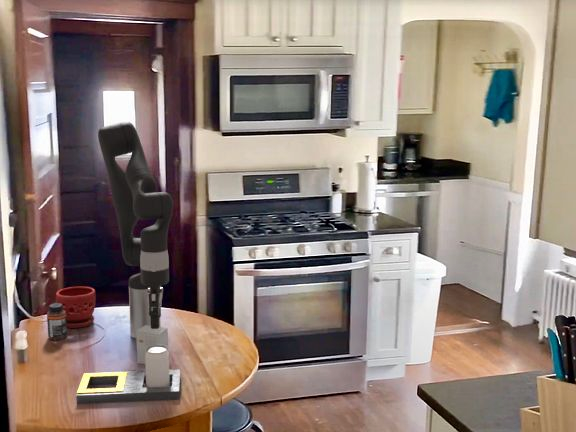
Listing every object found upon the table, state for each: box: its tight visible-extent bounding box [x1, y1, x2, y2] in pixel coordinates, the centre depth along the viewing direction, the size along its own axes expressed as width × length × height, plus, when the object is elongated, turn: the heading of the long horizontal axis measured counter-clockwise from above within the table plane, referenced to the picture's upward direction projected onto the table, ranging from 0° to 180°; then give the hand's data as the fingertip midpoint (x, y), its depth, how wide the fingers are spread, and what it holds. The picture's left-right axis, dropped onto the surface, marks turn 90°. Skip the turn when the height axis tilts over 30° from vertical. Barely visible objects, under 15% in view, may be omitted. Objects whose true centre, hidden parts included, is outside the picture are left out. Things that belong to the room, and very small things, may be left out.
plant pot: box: [55, 286, 96, 329], centre depth 245 cm, size 13×13×12 cm
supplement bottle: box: [46, 302, 68, 341], centre depth 232 cm, size 6×6×11 cm
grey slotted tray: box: [75, 369, 181, 405], centre depth 196 cm, size 27×14×3 cm, turn 97°
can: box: [145, 345, 171, 388], centre depth 196 cm, size 6×6×12 cm
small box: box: [135, 325, 170, 365], centre depth 214 cm, size 8×6×10 cm
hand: (155, 322), depth 193 cm, fingers open, 8 cm apart
